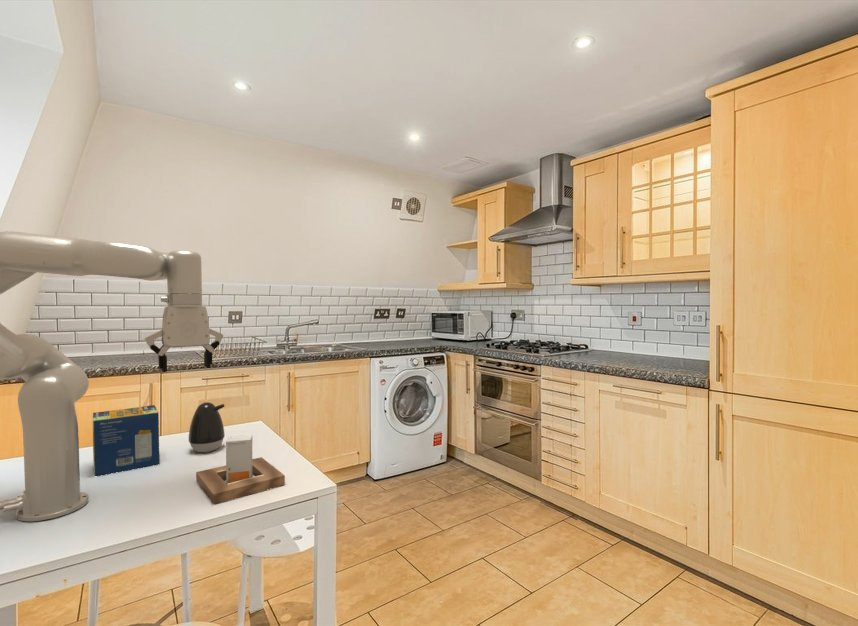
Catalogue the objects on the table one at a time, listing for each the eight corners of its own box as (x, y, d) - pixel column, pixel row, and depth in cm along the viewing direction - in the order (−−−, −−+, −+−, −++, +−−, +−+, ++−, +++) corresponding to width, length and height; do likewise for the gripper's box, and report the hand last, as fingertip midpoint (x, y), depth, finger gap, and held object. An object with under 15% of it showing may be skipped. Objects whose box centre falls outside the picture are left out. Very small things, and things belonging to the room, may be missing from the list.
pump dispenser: (221, 454, 136) (220, 405, 136) (184, 456, 134) (183, 407, 133) (228, 443, 146) (227, 397, 146) (194, 445, 144) (193, 399, 143)
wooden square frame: (213, 504, 103) (213, 493, 103) (196, 481, 116) (196, 471, 116) (284, 484, 114) (284, 475, 114) (261, 465, 127) (261, 456, 127)
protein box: (94, 465, 127) (92, 412, 126) (156, 454, 136) (155, 404, 135) (93, 477, 118) (92, 420, 118) (160, 464, 128) (159, 411, 127)
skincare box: (225, 488, 112) (225, 441, 111) (228, 481, 116) (227, 436, 115) (251, 485, 113) (250, 439, 113) (253, 478, 118) (252, 434, 117)
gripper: (146, 301, 101) (148, 375, 102) (226, 301, 112) (227, 367, 113) (141, 301, 107) (143, 371, 108) (218, 300, 118) (219, 364, 119)
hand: (186, 369), depth 110 cm, fingers open, 9 cm apart
